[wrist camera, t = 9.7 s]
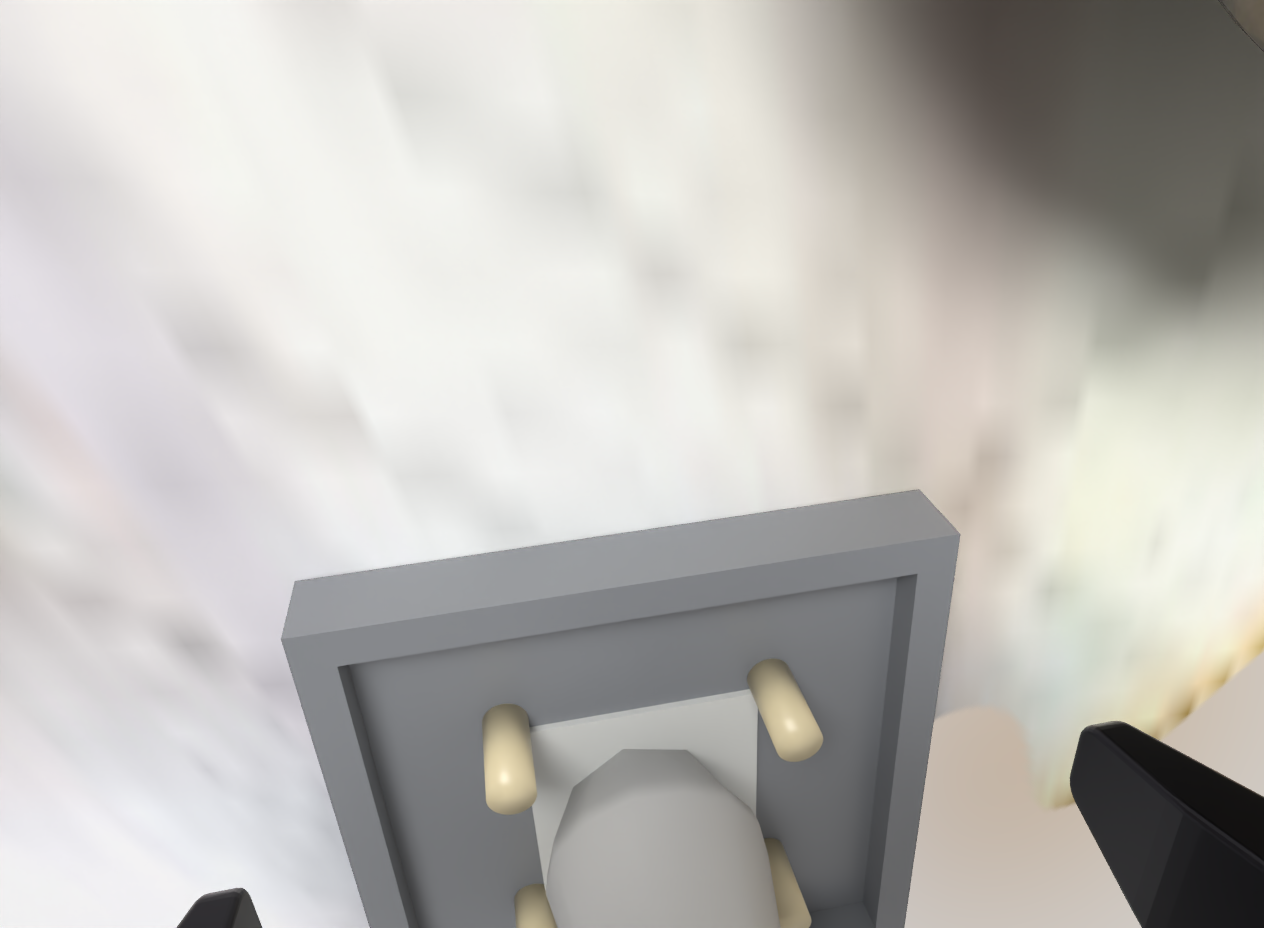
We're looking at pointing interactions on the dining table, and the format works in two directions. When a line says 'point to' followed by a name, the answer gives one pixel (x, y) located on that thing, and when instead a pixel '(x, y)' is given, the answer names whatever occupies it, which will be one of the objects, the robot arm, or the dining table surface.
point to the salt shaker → (659, 850)
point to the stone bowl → (1248, 17)
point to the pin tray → (633, 701)
